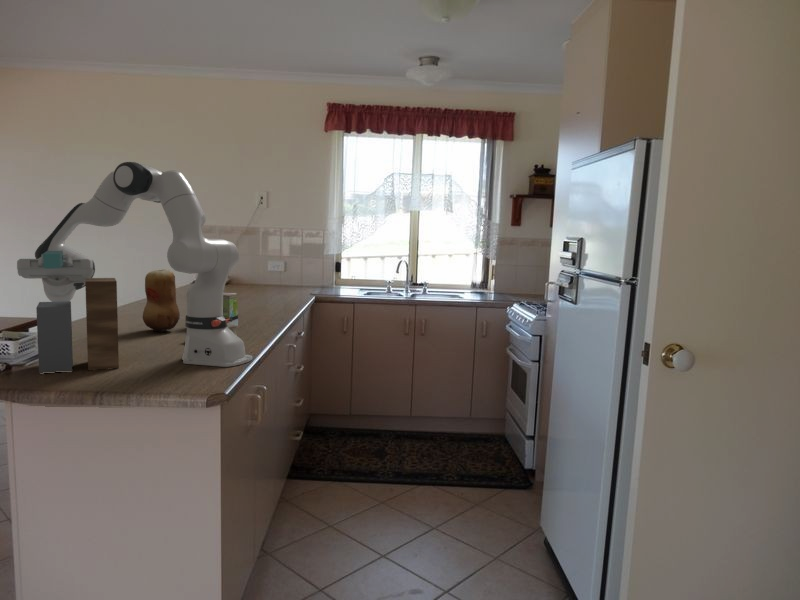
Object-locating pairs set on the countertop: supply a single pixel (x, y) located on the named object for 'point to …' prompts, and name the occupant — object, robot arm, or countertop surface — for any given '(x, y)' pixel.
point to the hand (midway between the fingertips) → (54, 256)
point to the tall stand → (102, 323)
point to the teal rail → (52, 259)
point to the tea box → (230, 307)
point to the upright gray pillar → (54, 336)
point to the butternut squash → (160, 301)
